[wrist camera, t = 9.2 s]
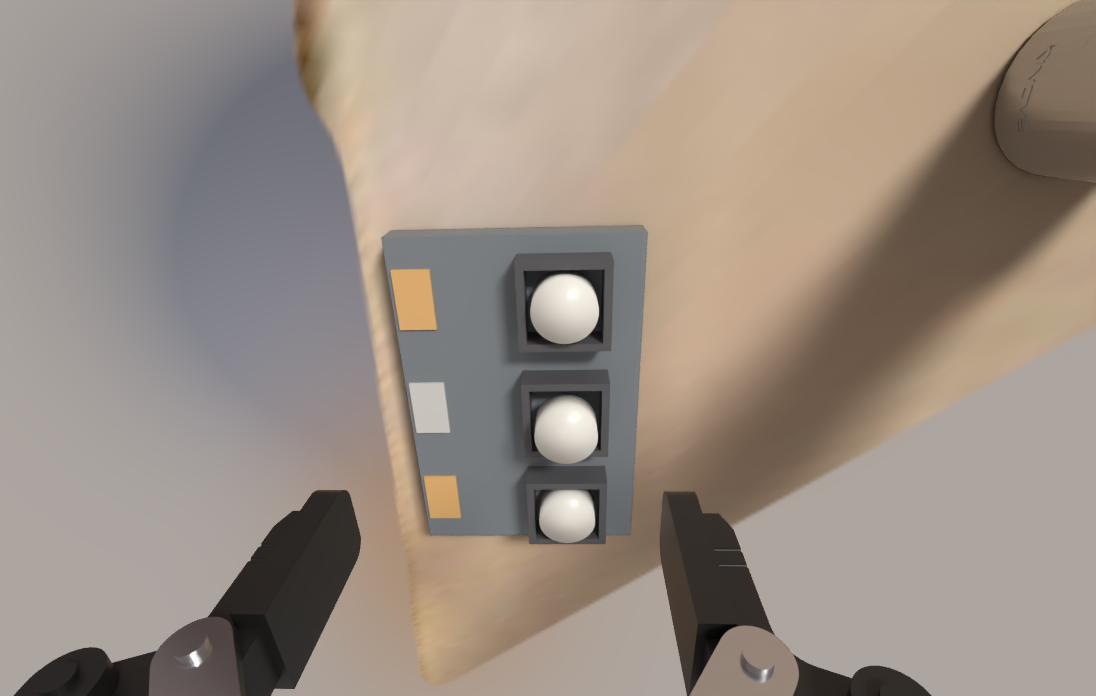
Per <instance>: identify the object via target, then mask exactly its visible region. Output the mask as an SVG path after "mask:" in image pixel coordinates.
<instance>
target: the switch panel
mask: <svg viewBox="0 0 1096 696" xmlns="http://www.w3.org/2000/svg"><path fill="white" fill-rule="evenodd" d="M647 237H648V232H647V230H646V229H645V228H644V226H643V225H631V226H582V227H534V228H486V229H438V230H391V231H390V232H388V233H387V234H386V235H384V236H383V237H381V239H382V245H383V251H384V257H385V263H386V269H387V276H388V282H389V288H390V294H391V300H392V306H393V312H394V318H395V324H396V330H397V336H398V342H399V348H400V354H401V360H402V366H403V372H404V379H405V385H406V391H407V397H408V403H409V409H410V415H411V421H412V427H413V433H414V439H415V445H416V451H417V457H418V463H419V469H420V476H421V482H422V488H423V494H424V500H425V506H426V512H427V518H428V524H429V530H430V535H529V543H530V544H605V542H606V535H630V531H631V514H632V497H633V479H634V462H635V445H636V427H637V410H638V393H639V375H640V358H641V341H642V323H643V306H644V289H645V271H646V254H647ZM557 270H572V271H575V272H578V273H580V274H582V275H583V276H585V277H586V278H587V279H588V280H589V281H590V282H591V283H592V285H593V287H594V289H595V292H596V296H597V301H598V307H599V317H598V321H597V324H596V326H595V328H594V329H593V330H592V332H591V333H590V334H589V335H588V336H587V337H585V338H584V339H582V340H580V341H578V342H575V343H571V344H558V343H554V342H551V341H549V340H547V339H545V338H544V337H542V336H541V335H540V334H539V333H538V332H537V330H536V329H535V327H534V326H533V323H532V321H531V316H530V308H531V302H532V295H533V291H534V289H535V287H536V285H537V283H538V282H539V281H540V280H541V279H542V278H543V277H544V276H546V275H547V274H549V273H551V272H554V271H557ZM564 394H567V395H574V396H578V397H580V398H582V399H584V400H585V401H587V402H588V403H589V404H590V405H591V407H592V408H593V410H594V412H595V415H596V423H597V432H598V442H597V445H596V448H595V449H594V451H593V452H592V453H591V454H590V455H589V456H588V457H587V458H585V459H584V460H582V461H579V462H576V463H571V464H562V463H556V462H553V461H551V460H549V459H547V458H546V457H544V456H543V455H542V454H541V453H540V452H539V450H538V449H537V447H536V444H535V439H534V435H535V423H536V414H537V411H538V409H539V408H540V406H541V405H542V404H543V403H544V402H545V401H546V400H548V399H550V398H552V397H554V396H557V395H564ZM569 489H588V490H589V491H590V493H591V494H592V497H593V501H594V513H595V526H594V529H593V531H592V532H591V533H590V535H588V536H587V537H586V538H584V539H582V540H580V541H577V542H573V543H562V542H557V541H554V540H552V539H550V538H549V537H547V536H546V535H545V534H544V533H543V531H542V530H541V528H540V524H539V516H540V499H541V496H542V494H543V492H544V491H545V490H569Z"/></svg>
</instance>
